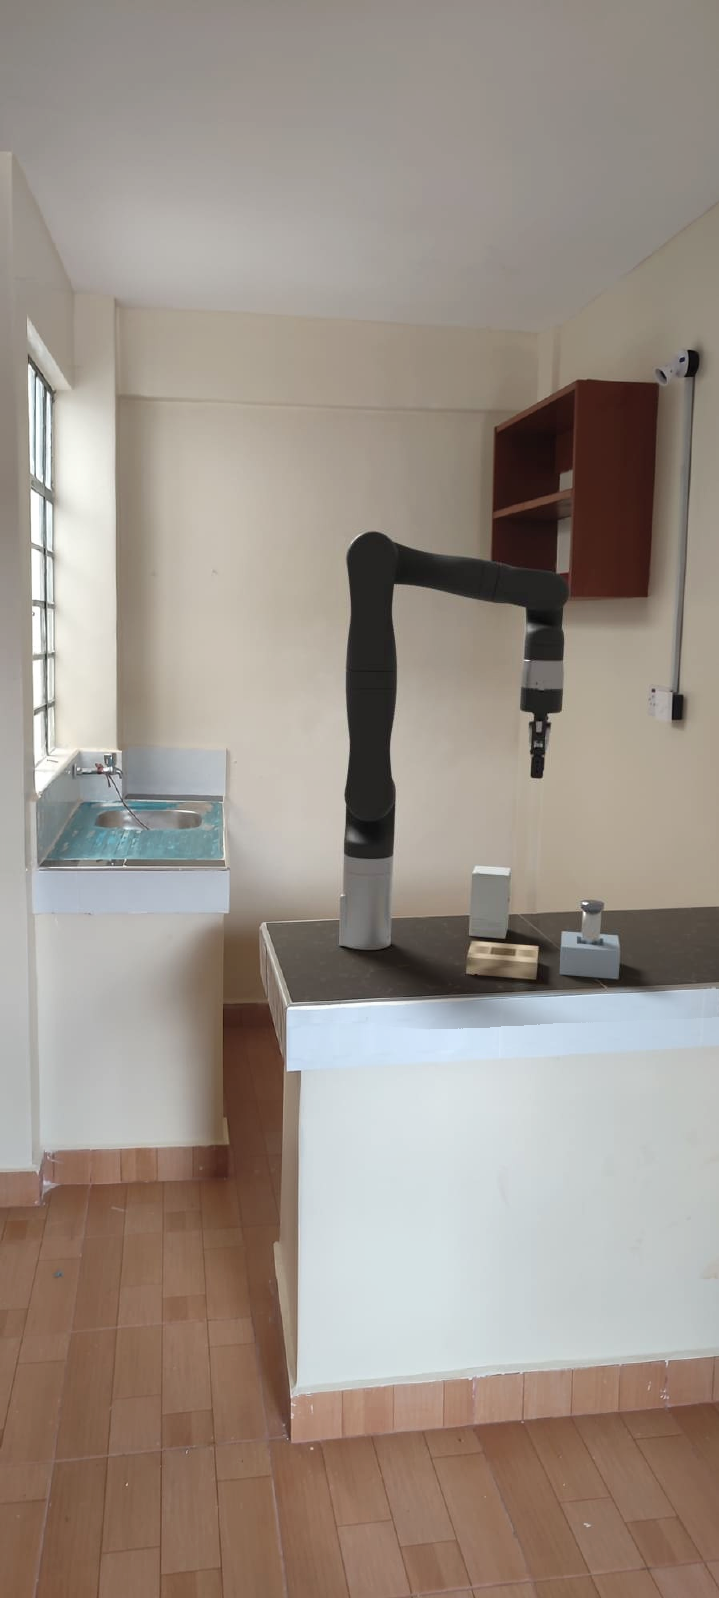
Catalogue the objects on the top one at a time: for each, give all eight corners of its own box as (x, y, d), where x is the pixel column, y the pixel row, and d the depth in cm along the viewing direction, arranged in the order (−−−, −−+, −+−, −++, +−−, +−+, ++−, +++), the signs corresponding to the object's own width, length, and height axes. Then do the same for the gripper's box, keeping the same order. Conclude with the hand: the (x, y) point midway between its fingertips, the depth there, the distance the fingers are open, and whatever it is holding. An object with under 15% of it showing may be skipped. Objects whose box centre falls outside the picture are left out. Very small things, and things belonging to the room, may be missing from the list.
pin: (577, 970, 200) (581, 904, 198) (576, 963, 204) (580, 899, 202) (600, 972, 200) (604, 906, 198) (599, 965, 204) (603, 900, 202)
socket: (559, 974, 198) (561, 946, 197) (560, 957, 208) (561, 931, 207) (618, 979, 196) (620, 951, 195) (616, 962, 206) (617, 935, 205)
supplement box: (506, 939, 219) (509, 875, 216) (467, 936, 220) (470, 872, 218) (508, 929, 226) (512, 867, 224) (471, 926, 227) (474, 864, 225)
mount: (466, 973, 197) (466, 957, 196) (471, 956, 207) (471, 941, 206) (535, 979, 195) (536, 962, 194) (537, 962, 205) (538, 946, 204)
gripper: (522, 682, 211) (518, 768, 214) (519, 687, 197) (514, 779, 200) (563, 684, 210) (558, 770, 213) (563, 688, 196) (557, 781, 199)
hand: (537, 774), depth 206 cm, fingers open, 8 cm apart
